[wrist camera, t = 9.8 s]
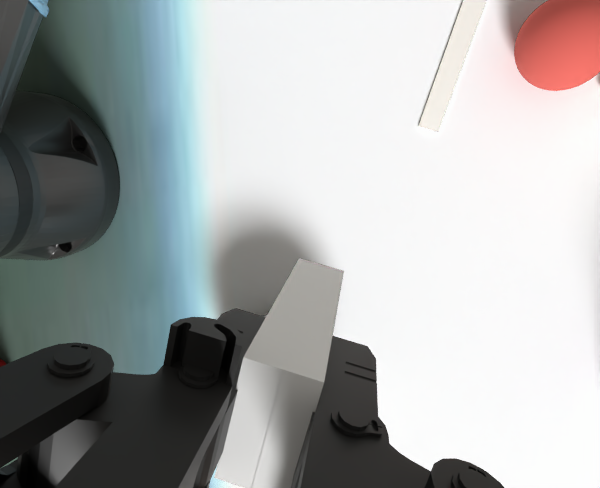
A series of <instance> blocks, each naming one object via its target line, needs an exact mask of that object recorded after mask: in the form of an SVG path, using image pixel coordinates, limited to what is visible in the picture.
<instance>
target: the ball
mask: <svg viewBox="0 0 600 488" xmlns="http://www.w3.org/2000/svg"><path fill="white" fill-rule="evenodd" d="M514 55H515V62H516V65H517V68H518V70H519V72H520V73H521V75H522V76H523V77H524V78H525V79H526V80H527V81H528V82H529V83H531V84H532V85H534V86H536V87H538V88H541V89H544V90H552V91H558V90H566V89H571V88H574V87H577V86H579V85H581V84H583V83H585V82H587V81H588V80H590V79H592V78H593V77H594V76H596V75H597V74H598V73H599V72H600V0H548V1H546V2H545V3H543V4H542V5H540V6H539V7H538V8H537V9H535V10H534V11H533V12H532V13H531V14H530V15H529V17H528V18H527V19H526V21H525V22H524V23H523V25H522V27H521V29H520V31H519V33H518V36H517V39H516V42H515V50H514Z"/></svg>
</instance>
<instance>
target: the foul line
mask: <svg viewBox="0 0 600 488" xmlns="http://www.w3.org/2000/svg"><path fill="white" fill-rule="evenodd" d="M486 1H487V0H463V2H462V5H461V8H460V11H459V14H458V16H457V19H456V22H455V25H454V28H453V30H452V33H451V36H450V39H449V42H448V44H447V47H446V50H445V53H444V56H443V58H442V61H441V64H440V67H439V70H438V72H437V75H436V78H435V81H434V84H433V86H432V89H431V92H430V95H429V98H428V100H427V103H426V106H425V109H424V112H423V114H422V117H421V120H420V123H419V126H420V127H423V128H426V129H430V130H433V131H436V132H438V131H439V128H440V125H441V123H442V120H443V117H444V115H445V112H446V109H447V107H448V104H449V101H450V98H451V96H452V93H453V90H454V88H455V85H456V82H457V80H458V77H459V74H460V71H461V69H462V66H463V63H464V61H465V58H466V55H467V53H468V50H469V47H470V44H471V42H472V39H473V36H474V34H475V31H476V28H477V26H478V23H479V20H480V18H481V15H482V12H483V9H484V7H485V4H486Z"/></svg>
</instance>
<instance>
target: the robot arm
mask: <svg viewBox="0 0 600 488" xmlns="http://www.w3.org/2000/svg"><path fill="white" fill-rule="evenodd" d="M47 3H48V0H0V258H2V259H24V260H52V259H58V258H62V257H66V256H68V255H71V254H74V253H76V252H79V251H81V250H84V249H86V248H88V247H89V246H91V245H92V244H94V243H95V242H96V241H97V240H99V239H100V238H101V237H102V235H103V234H104V233H105V232H106V230H107V229H108V228H109V226H110V224H111V222H112V220H113V218H114V215H115V213H116V209H117V206H118V200H119V190H120V187H119V174H118V168H117V164H116V160H115V157H114V154H113V152H112V150H111V147H110V145H109V143H108V141H107V139H106V138H105V136H104V134H103V133H102V131H101V130H100V129H99V127H98V126H97V125H96V124H95V123H94V121H93V120H92V119H91V118H90V117H89V116H88V115H87V114H85V113H84V112H83V111H82V110H80V109H79V108H78V107H76V106H75V105H73V104H72V103H70V102H68V101H66V100H64V99H61V98H59V97H56V96H53V95H49V94H43V93H35V92H27V91H16V89H17V86H18V83H19V81H20V78H21V75H22V72H23V69H24V67H25V64H26V61H27V58H28V55H29V53H30V50H31V47H32V44H33V41H34V39H35V36H36V34H37V31H38V29H39V26H40V23H41V21H42V18H43V16H44V17H46V16H47V14H48V12H49V8H48V6H47ZM343 273H344V271H342V270H339V269H335V268H332V267H328V266H325V265H321V264H318V263H314V262H311V261H307V260H304V259H300V258H299V259H298V261H297V263H296V265H295V266H294V268H293V270H292V272H291V274H290V275H289V277H288V279H287V281H286V282H285V284H284V286H283V288H282V289H281V291H280V293H279V295H278V297H277V298H276V300H275V302H274V304H273V305H272V307H271V309H270V311H269V313H268V314H267V316H266V317H263V316H260V315H256V314H253V313H250V312H246V311H243V310H240V309H233V310H231V311H228V312H226V313H223V314H222V315H221V316H220V317H219V318H218V319H217V320H216V319H211V318H206V317H190V318H185V319H180V320H178V321H176V322H175V323H173V324H171V327H170V333H169V338H168V343H167V349H166V354H165V360H164V365H163V366H162V367H161V368H160V369H159V371H158V372H157V373H156V374H151V375H136V374H126V373H115V372H113V367H114V362H113V360H112V357H111V355H110V354H108V353H107V352H106V351H105V350H103V349H101V348H98V347H96V346H93V345H90V344H81V343H67V344H58V345H54V346H51V347H47V348H44V349H41V350H39V351H37V352H34V353H32V354H30V355H27V356H25V357H23V358H20V359H18V360H16V361H13V362H11V363H9V364H6V365H4V366H1V367H0V488H209V483H210V479H211V477H212V475H213V473H214V470H215V468H216V466H217V469H216V473H215V477H214V478H217V479H220V480H223V481H226V482H229V483H232V484H235V485H238V486H241V487H244V488H504V487H503V486H502V484H501V483H500V482H498V481H497V480H496V479H495V478H494V477H492V476H491V475H490V474H489V473H487V472H486V471H484V470H483V469H481V468H479V467H477V466H476V465H473V464H471V463H469V462H466V461H462V460H459V459H442V460H440V461H438V462H436V463H435V464H434V465H433V468H432V470H431V472H430V471H429V470H427V469H425V468H423V467H422V466H420V465H418V464H416V463H415V462H413V461H411V460H409V459H408V458H406V457H405V456H403V455H402V454H400V453H399V452H398V451H397V450H396V449H394V448H393V447H392V446H391V445H390V444H389V437H388V433H387V430H386V427H385V425H384V423H383V422H382V421H381V420H380V418H379V417H378V406H377V383H376V381H377V379H376V358H375V357H374V355H373V354H372V352H371V351H370V349H369V348H368V346H365V345H361V344H358V343H355V342H351V341H348V340H345V339H341V338H338V337H335V336H332V335H333V330H334V324H335V318H336V313H337V307H338V301H339V296H340V290H341V285H342V279H343ZM17 457H18V459H17V460H15V461H14V462H12V463H11V464H9V465H7V466H5V467H2V466H4V465H6V464H7V463H9V462H10V461H12V460H13V459H15V458H17ZM217 464H218V465H217ZM1 467H2V468H1Z"/></svg>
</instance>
